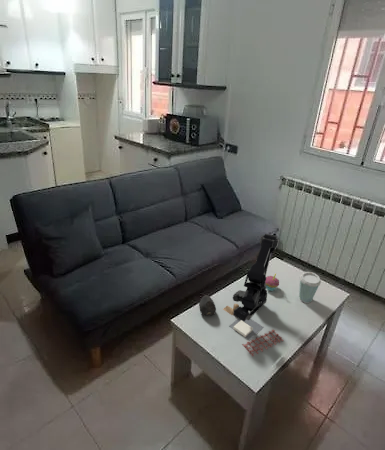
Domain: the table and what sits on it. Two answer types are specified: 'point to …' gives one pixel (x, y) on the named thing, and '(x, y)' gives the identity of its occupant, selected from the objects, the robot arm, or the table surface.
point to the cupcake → (271, 282)
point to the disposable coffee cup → (308, 286)
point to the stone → (207, 306)
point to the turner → (230, 310)
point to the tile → (243, 328)
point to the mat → (251, 323)
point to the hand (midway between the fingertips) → (248, 319)
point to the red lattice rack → (262, 342)
